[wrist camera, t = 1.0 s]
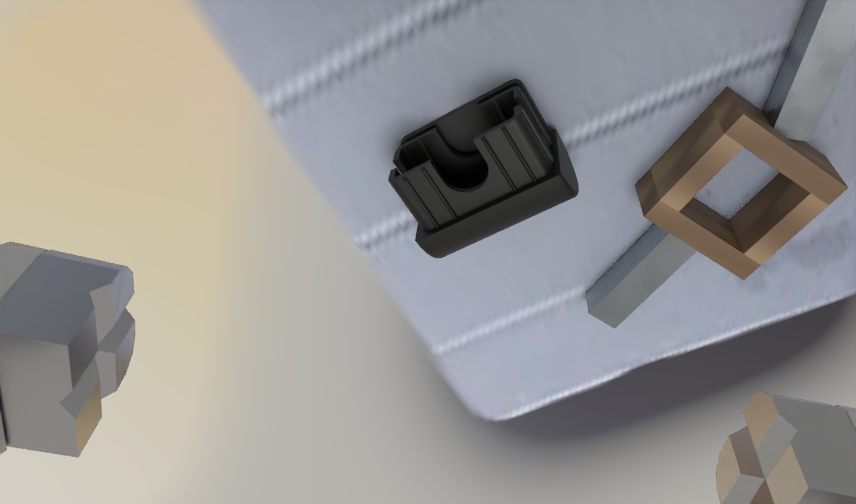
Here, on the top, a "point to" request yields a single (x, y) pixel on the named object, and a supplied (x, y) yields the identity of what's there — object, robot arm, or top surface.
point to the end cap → (481, 170)
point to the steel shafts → (787, 113)
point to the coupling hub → (765, 214)
